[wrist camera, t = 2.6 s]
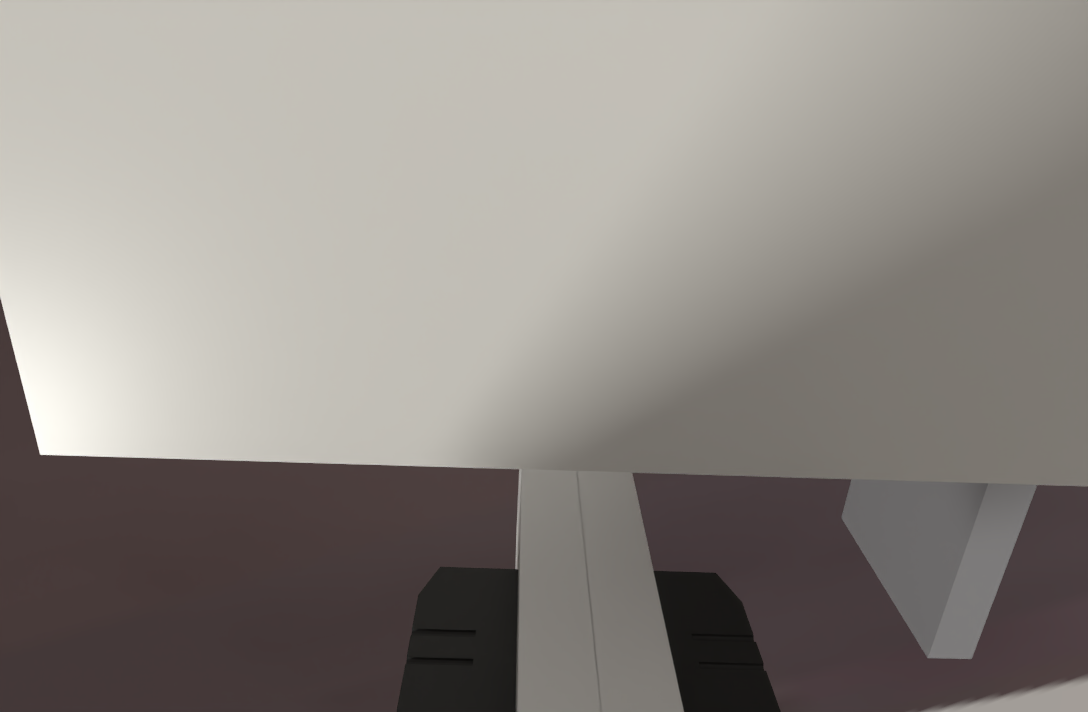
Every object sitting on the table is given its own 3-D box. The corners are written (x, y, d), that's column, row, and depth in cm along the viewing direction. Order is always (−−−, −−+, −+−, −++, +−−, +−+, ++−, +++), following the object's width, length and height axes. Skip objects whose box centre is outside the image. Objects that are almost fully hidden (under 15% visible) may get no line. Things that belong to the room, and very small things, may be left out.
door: (786, 476, 17) (969, 805, 10) (1025, -625, 10) (2169, -2042, 3) (850, 477, 17) (1076, 806, 10) (1131, -615, 10) (2486, -1972, 3)
